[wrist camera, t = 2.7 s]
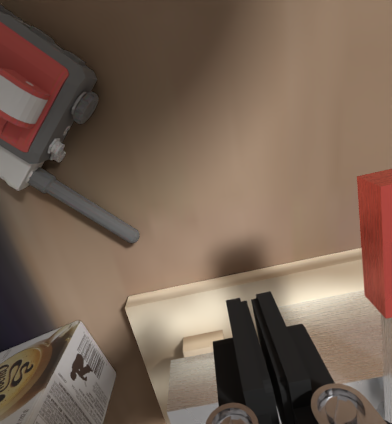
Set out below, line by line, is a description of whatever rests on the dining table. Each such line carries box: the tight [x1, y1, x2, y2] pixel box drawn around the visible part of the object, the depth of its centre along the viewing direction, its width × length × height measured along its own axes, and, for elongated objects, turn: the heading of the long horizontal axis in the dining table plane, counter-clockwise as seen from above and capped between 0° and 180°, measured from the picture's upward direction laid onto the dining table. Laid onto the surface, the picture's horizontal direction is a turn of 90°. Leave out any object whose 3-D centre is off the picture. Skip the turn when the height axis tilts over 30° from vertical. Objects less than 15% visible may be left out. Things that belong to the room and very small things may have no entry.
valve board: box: [125, 248, 364, 424], centre depth 24 cm, size 12×30×3 cm, turn 103°
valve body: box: [167, 290, 385, 424], centre depth 20 cm, size 7×25×7 cm, turn 103°
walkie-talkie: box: [0, 5, 140, 243], centre depth 18 cm, size 9×4×20 cm
